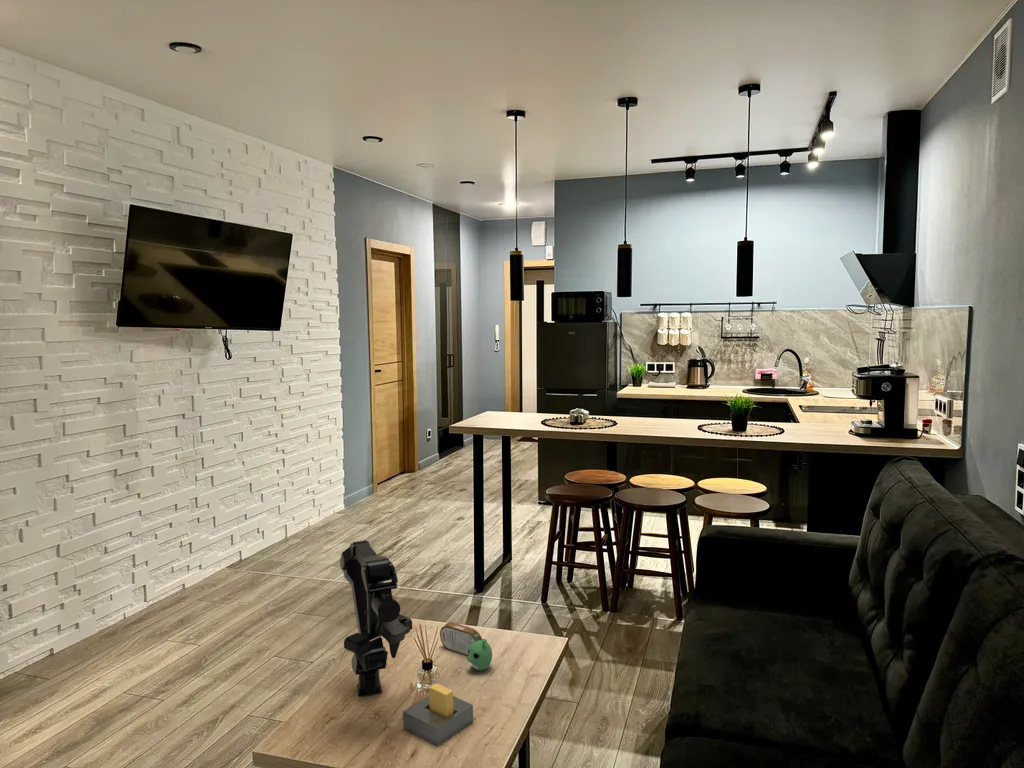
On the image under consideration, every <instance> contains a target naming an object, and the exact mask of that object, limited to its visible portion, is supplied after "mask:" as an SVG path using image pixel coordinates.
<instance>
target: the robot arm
mask: <svg viewBox="0 0 1024 768" xmlns="http://www.w3.org/2000/svg"><path fill="white" fill-rule="evenodd" d="M341 552H342V553H341V555H340V559H339V564H340V566H339V567H340V569H341V571H342V572H343V577H344V578H345V580H346V581H347V582H348V583H349V584H350V587H351V591H352V592H351V594H352V600H353V606H354V613H355V614H354V615H355V620H356V625H357V631H358V632H355V633H353V634H351V635H349V636H347V637H345V638H344V639H343V648H344V649H345V650H347V651H350V652H351V653H353V655H352V658H351V659H350V661H351V669H352V670H353V672H354V675H355V676H358V683H357V684H356V690H357V695H358V697H367V696H373V695H379V694H383V689H382V682H381V680H380V679H381V678H380V676H381V675H380V670H383V669H384V670H386V669H387V662H388V654H389V652H390V657H391V658H392V659H395V658H396V657H397V653H398V650H399V648H400V644H401V642H402V641H404V640H405V637H406V636H407V634H409V633H410V631H411V630H413V621H412V619H411V618H410V617H407V616H405V615H402V614H400V612H401V606H400V604H399V602H398V601H397V599H396V598H395V597H394V596H393V593H392V590H396V589H398V582H399V580H398V576H397V572H396V568H395V565H394V563H393V562H392V561H391V560H390V558H388V557H387V556H385V555H378V554H377V553H376V551H375V550H374V548H373V547H372V546H371V544H370V541H369V540H367V539H365V540H360V541H359V540H358V541H353V542H351V543H350V544H349V547H348V548H346V549H345V550H344V551H341ZM382 637H383V638H382ZM383 639H385V640H386V641H387V643H388V645H389V652H388V650H387V648H386V647H385V646H384V641H383Z"/></svg>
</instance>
